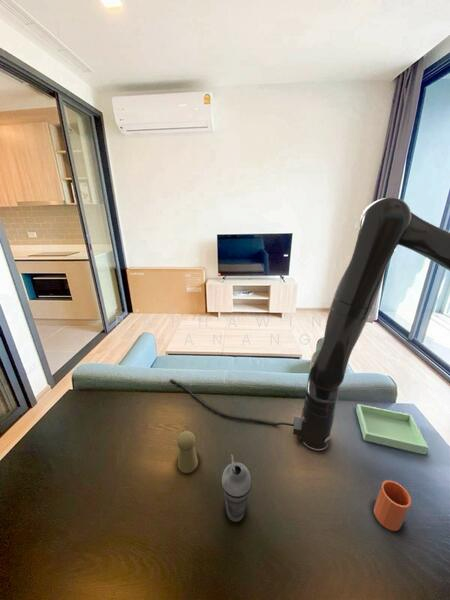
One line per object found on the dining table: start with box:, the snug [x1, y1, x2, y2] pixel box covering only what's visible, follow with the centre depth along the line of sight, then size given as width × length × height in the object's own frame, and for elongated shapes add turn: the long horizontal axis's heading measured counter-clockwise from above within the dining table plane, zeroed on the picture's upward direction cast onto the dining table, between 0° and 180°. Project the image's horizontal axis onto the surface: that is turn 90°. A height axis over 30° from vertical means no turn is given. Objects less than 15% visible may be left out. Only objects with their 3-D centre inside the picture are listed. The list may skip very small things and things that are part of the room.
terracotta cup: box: [373, 479, 412, 532], centre depth 60 cm, size 6×6×9 cm
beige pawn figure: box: [176, 430, 199, 474], centre depth 72 cm, size 6×6×11 cm
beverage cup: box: [220, 453, 252, 523], centre depth 59 cm, size 7×7×20 cm
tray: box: [355, 403, 429, 455], centre depth 85 cm, size 18×14×3 cm
